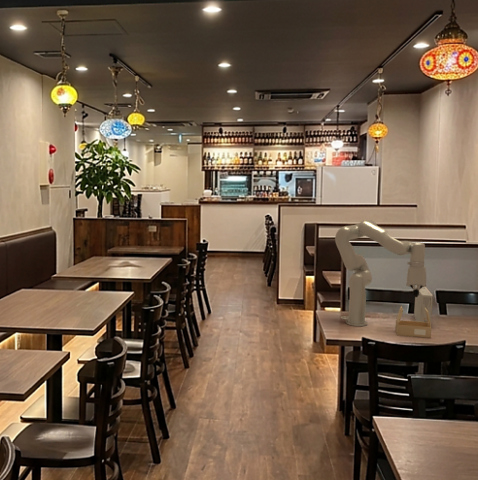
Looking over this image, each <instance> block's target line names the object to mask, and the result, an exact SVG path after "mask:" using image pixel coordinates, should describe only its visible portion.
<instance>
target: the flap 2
mask: <svg viewBox="0 0 478 480" xmlns="http://www.w3.org/2000/svg"><path fill="white" fill-rule="evenodd" d="M425 312H426V316H427V321H428V323H429V324H430V326H431V327H432V321H431V322H430V318H429V313H428V311H427V309H426V308H425Z"/></svg>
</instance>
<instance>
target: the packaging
mask: <svg viewBox="0 0 478 480" xmlns="http://www.w3.org/2000/svg"><path fill="white" fill-rule="evenodd" d="M415 289H417V285H415ZM433 297H434V295H433V293H431V291H429V289H428V288H427V286H426V287H422V288H421V289H420V290H419V296H418V297H414V311H413V317H414V319H415V321H417V322H428V321H427V316H426V312H425V308H426V309H427V311H428V313H429V318H430V322H431V323H432V314H433Z"/></svg>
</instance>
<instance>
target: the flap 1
mask: <svg viewBox="0 0 478 480" xmlns="http://www.w3.org/2000/svg"><path fill="white" fill-rule="evenodd" d="M397 313H398V314H397V315H396V318H395V319H396V320H397V322H398V323H399V322H400V320H402V319H401V318H402V316H403V314H404V308H403V306H402V305H401V306H400V307H399V310H398V312H397Z"/></svg>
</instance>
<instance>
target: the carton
mask: <svg viewBox="0 0 478 480" xmlns="http://www.w3.org/2000/svg"><path fill="white" fill-rule="evenodd" d="M394 327H395V333H396V336H399V337H410V338H411V337H412V338H424V339H431V338H432V325H431V326H430V324H429V323H428V322H417V321H416V320H415V321H414V320H404V319H403V320H402V319H400V322H399V323H398V322H397V319H396V320H395V326H394Z"/></svg>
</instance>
